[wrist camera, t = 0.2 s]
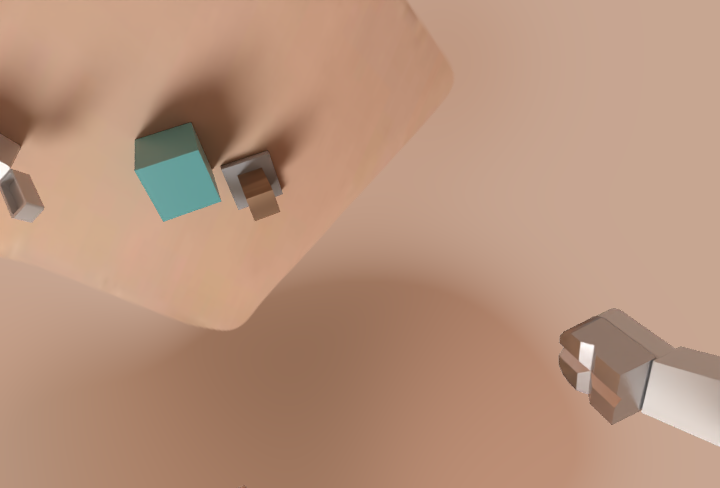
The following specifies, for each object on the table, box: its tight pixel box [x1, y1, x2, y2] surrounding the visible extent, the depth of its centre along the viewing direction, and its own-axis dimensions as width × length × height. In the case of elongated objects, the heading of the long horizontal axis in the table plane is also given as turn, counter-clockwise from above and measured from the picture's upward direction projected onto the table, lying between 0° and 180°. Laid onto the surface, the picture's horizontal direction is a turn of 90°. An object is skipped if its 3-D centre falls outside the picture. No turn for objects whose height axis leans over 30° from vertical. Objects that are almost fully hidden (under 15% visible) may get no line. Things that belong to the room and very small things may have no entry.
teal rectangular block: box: [135, 122, 221, 222], centre depth 41 cm, size 5×5×7 cm
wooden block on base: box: [220, 150, 283, 221], centre depth 45 cm, size 5×5×6 cm
